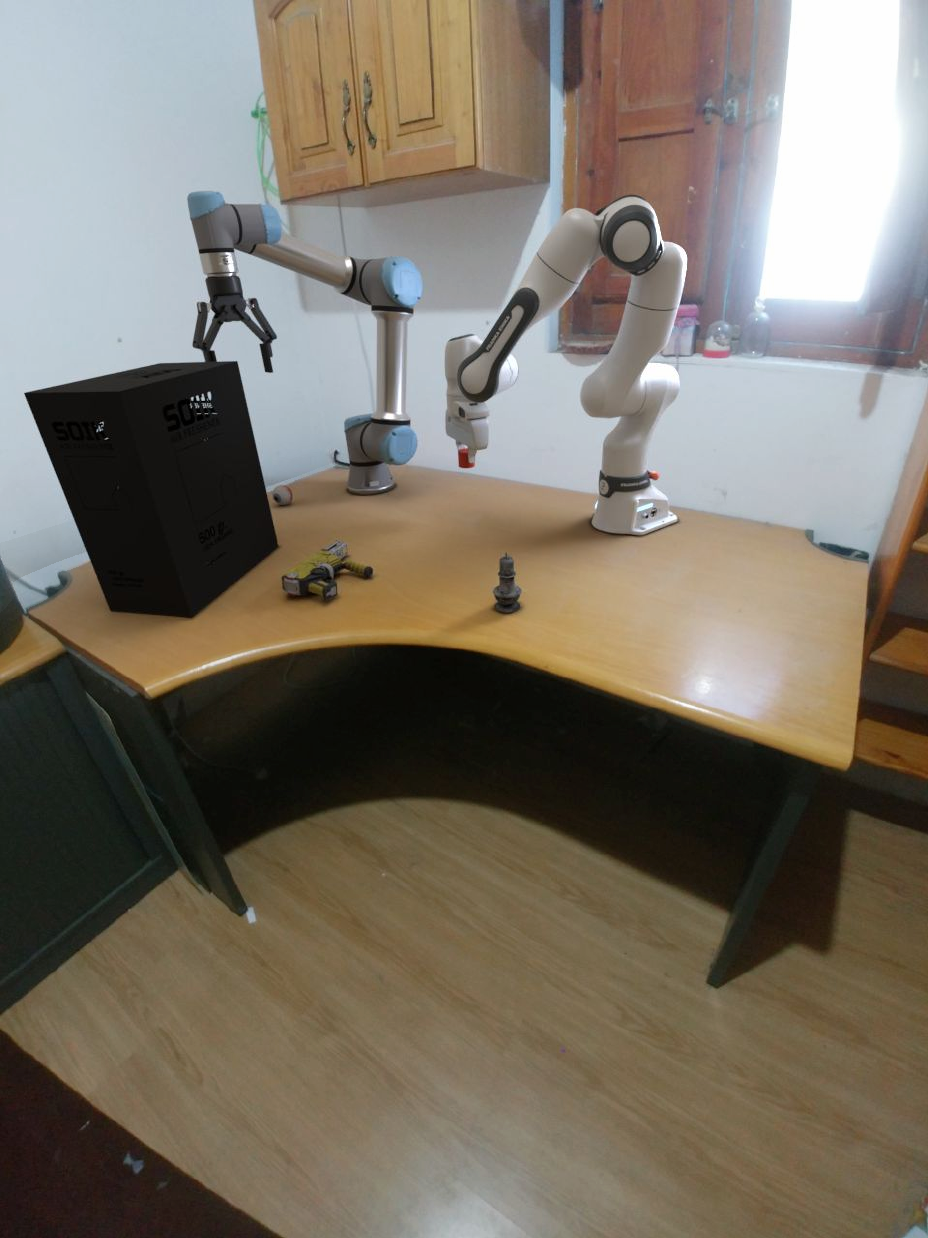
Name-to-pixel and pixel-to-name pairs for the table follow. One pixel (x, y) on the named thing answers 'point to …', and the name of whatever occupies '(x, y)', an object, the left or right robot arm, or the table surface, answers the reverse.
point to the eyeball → (282, 495)
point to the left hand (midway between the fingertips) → (244, 376)
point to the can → (464, 459)
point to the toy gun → (321, 572)
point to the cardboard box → (160, 481)
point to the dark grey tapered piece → (507, 586)
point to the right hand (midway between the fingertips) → (466, 459)
